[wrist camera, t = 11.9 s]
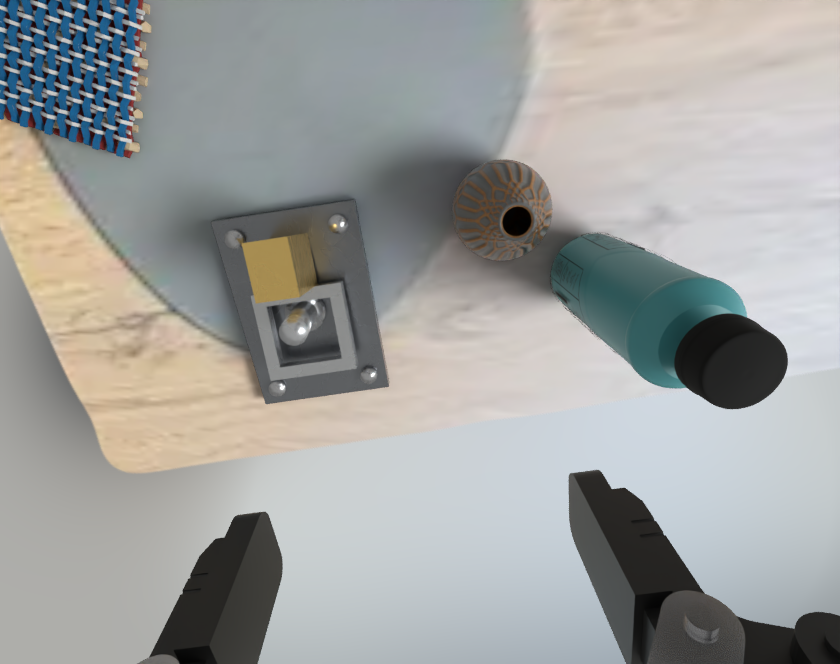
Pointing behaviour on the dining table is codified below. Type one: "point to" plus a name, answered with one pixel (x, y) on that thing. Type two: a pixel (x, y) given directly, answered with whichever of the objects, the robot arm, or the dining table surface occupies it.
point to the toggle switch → (309, 320)
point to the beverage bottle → (669, 321)
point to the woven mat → (74, 68)
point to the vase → (502, 210)
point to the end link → (288, 283)
